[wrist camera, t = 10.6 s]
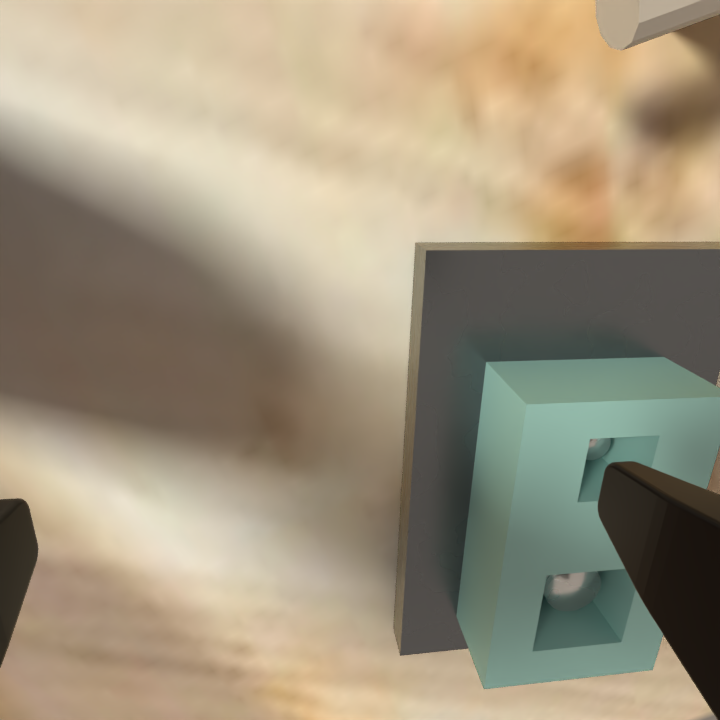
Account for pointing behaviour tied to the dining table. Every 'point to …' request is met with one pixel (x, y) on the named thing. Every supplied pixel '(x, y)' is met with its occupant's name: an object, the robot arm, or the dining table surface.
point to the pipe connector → (648, 18)
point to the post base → (523, 343)
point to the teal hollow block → (569, 509)
